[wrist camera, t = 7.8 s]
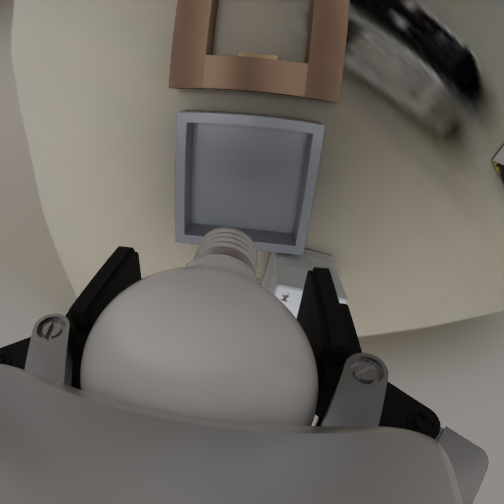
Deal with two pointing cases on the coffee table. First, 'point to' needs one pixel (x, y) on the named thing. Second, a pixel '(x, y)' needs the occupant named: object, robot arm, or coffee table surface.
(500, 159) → the medicine bottle
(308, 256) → the skincare box
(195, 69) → the socket collar
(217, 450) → the robot arm
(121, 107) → the coffee table surface
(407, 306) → the coffee table surface
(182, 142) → the tray
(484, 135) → the coffee table surface
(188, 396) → the lightbulb
